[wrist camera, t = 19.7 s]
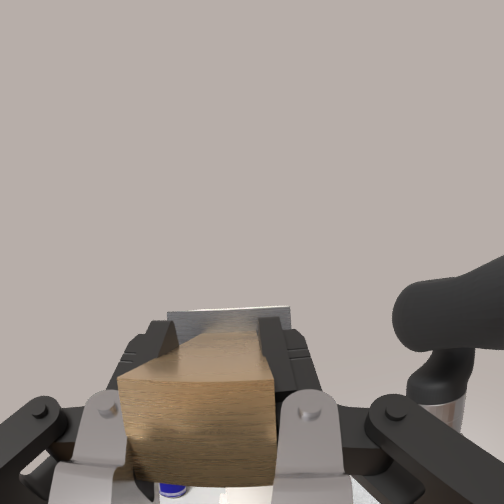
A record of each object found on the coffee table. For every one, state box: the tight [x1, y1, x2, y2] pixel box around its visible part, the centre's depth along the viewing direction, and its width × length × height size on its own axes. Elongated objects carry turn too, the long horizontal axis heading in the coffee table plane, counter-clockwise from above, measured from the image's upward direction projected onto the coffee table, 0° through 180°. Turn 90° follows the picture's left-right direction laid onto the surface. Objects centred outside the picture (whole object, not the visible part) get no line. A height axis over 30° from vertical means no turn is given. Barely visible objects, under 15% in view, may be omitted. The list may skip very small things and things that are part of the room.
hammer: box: [117, 307, 291, 488], centre depth 13 cm, size 7×18×5 cm, turn 1°
